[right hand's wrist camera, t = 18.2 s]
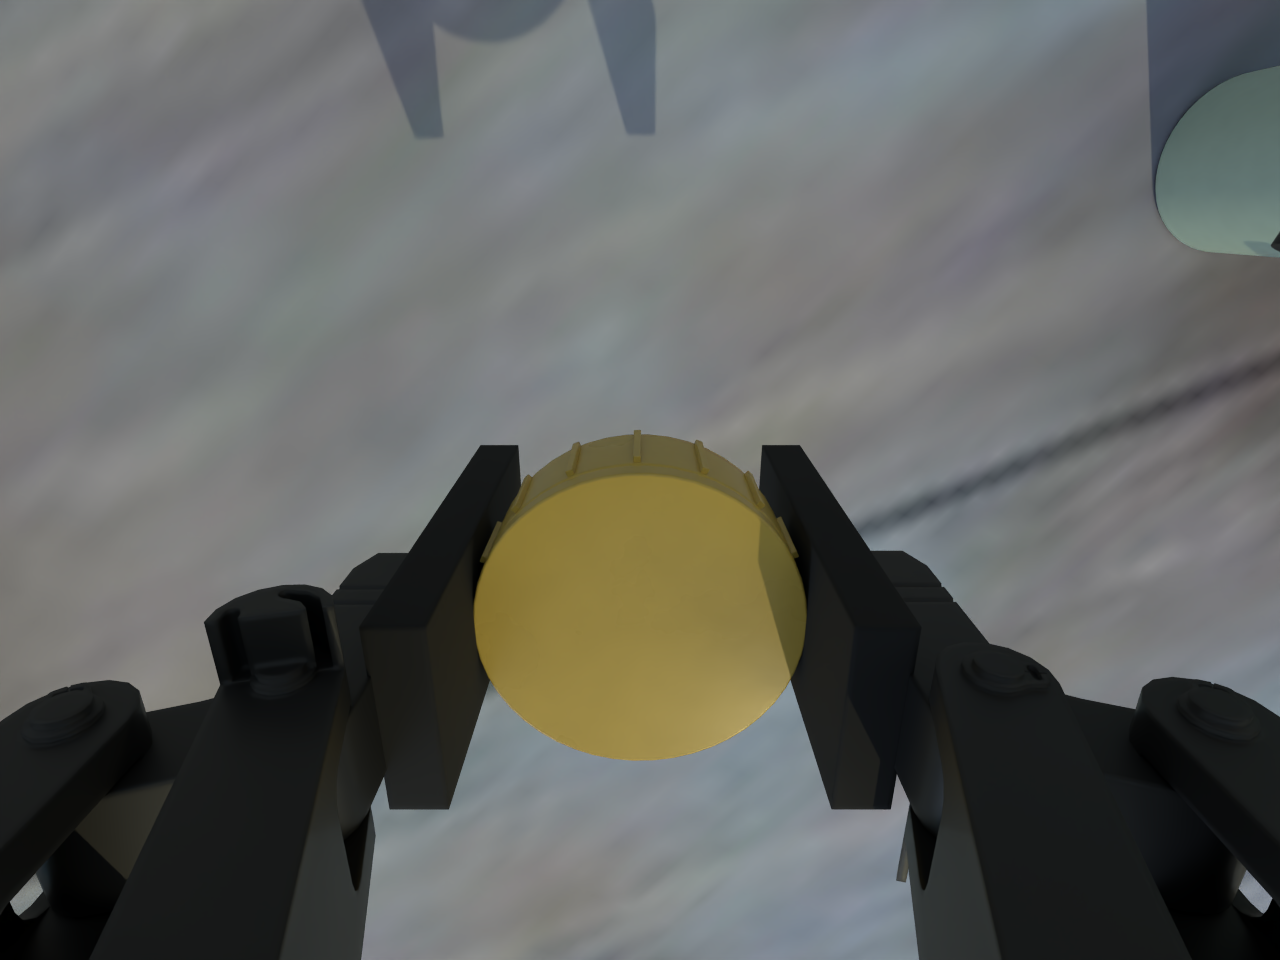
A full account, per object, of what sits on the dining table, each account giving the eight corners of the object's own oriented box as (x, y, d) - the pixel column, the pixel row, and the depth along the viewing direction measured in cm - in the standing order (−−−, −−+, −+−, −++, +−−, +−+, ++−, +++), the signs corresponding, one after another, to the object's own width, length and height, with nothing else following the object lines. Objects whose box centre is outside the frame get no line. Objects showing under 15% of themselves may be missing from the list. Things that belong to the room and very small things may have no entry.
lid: (479, 668, 13) (455, 739, 11) (511, 405, 11) (486, 442, 9) (748, 708, 13) (764, 783, 11) (821, 458, 11) (852, 504, 10)
